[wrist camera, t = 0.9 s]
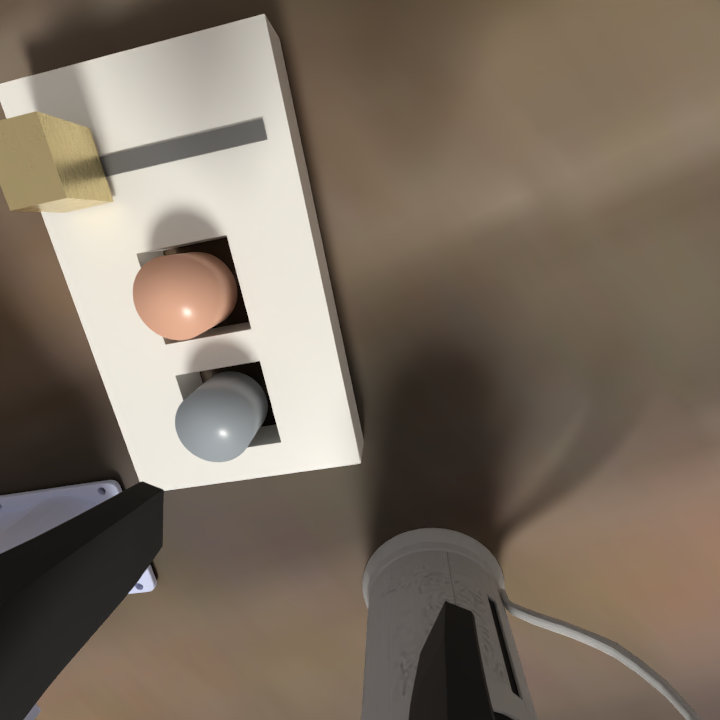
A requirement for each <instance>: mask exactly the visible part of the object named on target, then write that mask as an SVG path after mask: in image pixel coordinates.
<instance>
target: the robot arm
mask: <svg viewBox="0 0 720 720" xmlns="http://www.w3.org/2000/svg"><path fill="white" fill-rule="evenodd" d="M102 488H104V489H105V490H106V491H104V490H102ZM163 494H164V490H163V489H161V488H158V487H156V486H153V485H151V484H148V483H145V482H143V481H142V482H140V483H137V484H136V485H134V486H132V487H130V488H128V489H126V490H124V491H122V489H121V486H120V485H119V483H118V482H117V481H115V480H105V481H98V482H91V483H84V484H77V485H70V486H63V487H56V488H50V489H43V490H36V491H29V492H22V493H15V494H8V495H1V496H0V720H35V718H36V717H37V716H38V714H39V713H40V711H41V710H40V708H39V707H38V706H37V704H36V702H37V701H38V700H39V698H40V697H41V696H42V694H43V693H44V692H45V691H46V689H47V688H48V687H49V686H50V684H51V683H52V682H53V681H54V679H55V678H56V677H57V676H58V675H59V673H60V672H61V671H62V670H63V669H64V667H65V666H66V665H67V664H68V663H69V662H70V661H71V659H72V658H73V657H74V656H75V655H76V654H77V652H78V651H79V650H80V649H81V648H82V647H83V646H84V644H85V643H86V642H87V641H88V640H89V639H90V637H91V636H92V635H93V634H94V633H95V632H96V631H97V629H98V628H99V627H100V626H101V625H102V624H103V622H104V621H105V620H106V619H107V618H108V617H109V616H110V614H111V613H112V612H113V611H114V610H115V609H116V607H117V606H118V605H119V604H120V603H121V601H122V600H123V599H124V598H125V597H126V596H127V594H131V593H140V592H149V591H152V590H153V589H154V588H155V586H156V584H157V581H156V578H155V576H154V573H153V570H152V568H151V565H150V564H151V562H152V561H153V559H154V558H155V556H156V555H157V553H158V552H159V550H160V549H161V547H162V542H163ZM141 584H142V585H141ZM409 720H495V716H494V712H493V708H492V704H491V700H490V695H489V691H488V687H487V682H486V677H485V672H484V668H483V663H482V658H481V652H480V647H479V641H478V635H477V629H476V623H475V616H474V614H473V613H472V611H470V610H467V609H464V608H462V607H459V606H457V605H454V604H452V603H449V602H447V601H445V602H444V604H443V606H442V609H441V611H440V613H439V615H438V617H437V619H436V621H435V623H434V625H433V627H432V629H431V631H430V634H429V636H428V638H427V640H426V642H425V644H424V646H423V648H422V650H421V652H420V656H419V661H418V666H417V671H416V676H415V681H414V687H413V692H412V697H411V702H410V711H409Z"/></svg>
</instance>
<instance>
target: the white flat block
mask: <svg viewBox="0 0 720 720" xmlns="http://www.w3.org/2000/svg"><path fill="white" fill-rule="evenodd" d="M0 102H1V105H2V107H3V110H4V113H5V115H6V118H7V119H8V118H12V117H16V116H19V115H23V114H27V113H31V112H35V111H38V112H41V113H44V114H47V115H50V116H53V117H56V118H60V119H63V120H66V121H69V122H72V123H75V124H78V125H81V126H84V127H88V128H90V130H91V133H92V136H93V140H94V143H95V146H96V149H97V152H98V155H99V158H100V161H101V164H102V167H103V170H104V174H105V177H106V180H107V183H108V186H109V189H110V192H111V195H112V198H113V201H114V202H111V203H106V204H102V205H97V206H93V207H88V208H84V209H80V210H75V211H71V212H66V213H55V212H41V214H42V216H43V219H44V222H45V225H46V227H47V230H48V233H49V235H50V238H51V241H52V244H53V246H54V249H55V252H56V255H57V257H58V260H59V263H60V265H61V268H62V271H63V274H64V276H65V279H66V282H67V285H68V287H69V290H70V293H71V295H72V298H73V301H74V304H75V306H76V309H77V312H78V314H79V317H80V320H81V323H82V325H83V328H84V331H85V334H86V336H87V339H88V342H89V344H90V347H91V350H92V353H93V355H94V358H95V361H96V364H97V366H98V369H99V372H100V374H101V377H102V380H103V383H104V385H105V388H106V391H107V394H108V396H109V399H110V402H111V404H112V407H113V410H114V413H115V415H116V418H117V421H118V424H119V426H120V429H121V432H122V434H123V437H124V440H125V443H126V445H127V448H128V451H129V454H130V456H131V459H132V462H133V464H134V467H135V470H136V473H137V475H138V478H139V481H140V482H142V481H143V482H145V483H148V484H151V485H153V486H156V487H158V488H161V489H163V490H164V491H166V490H173V489H181V488H188V487H195V486H202V485H209V484H216V483H224V482H231V481H238V480H245V479H252V478H260V477H267V476H274V475H281V474H288V473H295V472H303V471H310V470H317V469H324V468H331V467H339V466H346V465H353V464H360V463H361V459H362V451H363V443H364V440H363V435H362V430H361V425H360V421H359V416H358V411H357V406H356V401H355V397H354V392H353V387H352V382H351V378H350V373H349V368H348V363H347V358H346V354H345V349H344V344H343V339H342V334H341V330H340V325H339V320H338V315H337V311H336V306H335V301H334V296H333V291H332V287H331V282H330V277H329V272H328V268H327V263H326V258H325V253H324V248H323V244H322V239H321V234H320V229H319V225H318V220H317V215H316V210H315V205H314V201H313V196H312V191H311V186H310V182H309V177H308V172H307V167H306V162H305V158H304V153H303V148H302V143H301V138H300V134H299V129H298V124H297V119H296V115H295V110H294V105H293V100H292V95H291V91H290V86H289V81H288V76H287V72H286V67H285V62H284V57H283V52H282V48H281V43H280V39H279V37H278V35H277V34H276V32H275V30H274V29H273V27H272V25H271V24H270V22H269V20H268V19H267V17H266V15H265V14H261V15H258V16H254V17H250V18H246V19H243V20H239V21H235V22H231V23H228V24H224V25H220V26H216V27H213V28H209V29H205V30H201V31H197V32H194V33H190V34H186V35H182V36H179V37H175V38H171V39H167V40H164V41H160V42H156V43H152V44H149V45H145V46H141V47H137V48H134V49H130V50H126V51H122V52H118V53H115V54H111V55H107V56H103V57H100V58H96V59H92V60H88V61H85V62H81V63H77V64H73V65H70V66H66V67H62V68H58V69H55V70H51V71H47V72H43V73H39V74H36V75H32V76H28V77H24V78H21V79H17V80H13V81H9V82H6V83H2V84H0ZM226 237H227V239H228V242H229V246H230V250H231V254H232V258H233V261H234V265H235V269H236V273H237V277H238V280H239V284H240V288H241V292H242V295H243V299H244V303H245V307H246V311H247V314H248V318H249V322H245V323H240V324H234V325H229V326H223V327H218V328H212V329H208V330H207V331H205V332H203V333H201V334H200V335H198V336H196V337H194V338H191V339H187V340H172V339H168V338H165V337H162V336H160V335H158V334H156V333H155V332H153V331H152V330H151V329H150V328H149V327H147V326H146V324H145V323H144V322H143V321H142V319H141V318H140V316H139V315H138V313H137V311H136V308H135V305H134V301H133V284H134V280H135V277H136V275H137V273H138V272H139V270H140V269H141V268H142V266H143V265H145V264H146V263H147V262H148V261H150V260H152V259H154V258H156V257H160V256H164V254H163V251H164V250H168V249H173V248H178V247H183V246H188V245H193V244H197V243H202V242H207V241H212V240H217V239H222V238H226ZM257 361H260V364H261V367H262V371H263V375H264V379H265V383H266V386H267V390H268V394H269V398H270V402H271V405H272V409H273V413H274V417H275V421H276V425H269V426H263V427H260V429H259V430H258V432H257V433H256V435H255V436H254V438H253V439H252V441H251V442H250V444H249V445H248V447H247V448H246V450H245V451H244V452H243V453H242V454H241V455H240V456H238V457H237V458H235V459H233V460H230V461H226V462H210V461H206V460H203V459H201V458H199V457H197V456H195V455H193V454H192V453H191V452H190V451H188V450H187V449H186V448H185V447H184V445H183V444H182V443H181V441H180V439H179V437H178V435H177V432H176V428H175V416H176V412H177V409H178V407H179V406H180V404H181V403H182V402H183V400H184V399H185V398H187V397H188V396H189V395H190V394H191V393H193V392H194V391H195V390H196V389H197V388H199V387H200V386H201V385H202V384H203V382H202V379H201V376H200V372H199V371H204V370H210V369H216V368H222V367H228V366H234V365H240V364H245V363H251V362H257Z"/></svg>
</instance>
